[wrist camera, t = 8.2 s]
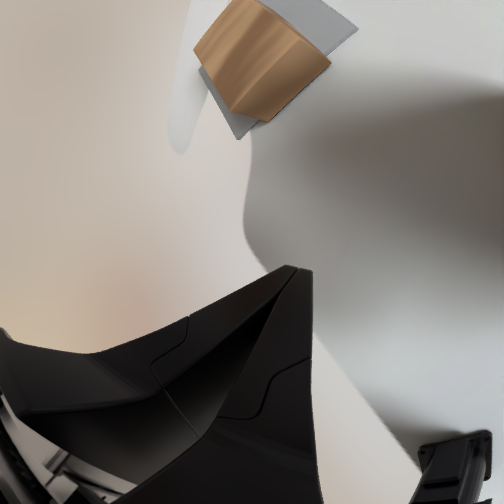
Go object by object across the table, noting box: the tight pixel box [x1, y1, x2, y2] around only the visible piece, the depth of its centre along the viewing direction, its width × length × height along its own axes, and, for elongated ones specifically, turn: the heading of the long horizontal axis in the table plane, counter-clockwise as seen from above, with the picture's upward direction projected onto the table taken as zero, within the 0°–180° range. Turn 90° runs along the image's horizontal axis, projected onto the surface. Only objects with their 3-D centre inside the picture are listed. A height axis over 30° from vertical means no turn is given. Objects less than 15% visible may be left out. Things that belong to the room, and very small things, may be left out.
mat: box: [198, 0, 358, 140], centre depth 19 cm, size 11×14×1 cm
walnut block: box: [193, 0, 332, 122], centre depth 17 cm, size 4×7×9 cm
